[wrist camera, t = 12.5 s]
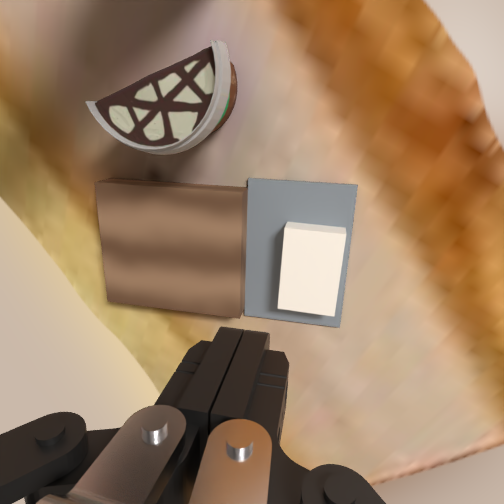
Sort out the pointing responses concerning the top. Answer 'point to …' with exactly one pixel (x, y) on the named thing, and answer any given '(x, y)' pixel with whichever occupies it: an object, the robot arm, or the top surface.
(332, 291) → the tile
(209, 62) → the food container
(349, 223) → the mat
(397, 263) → the top surface
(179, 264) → the brown wooden board
